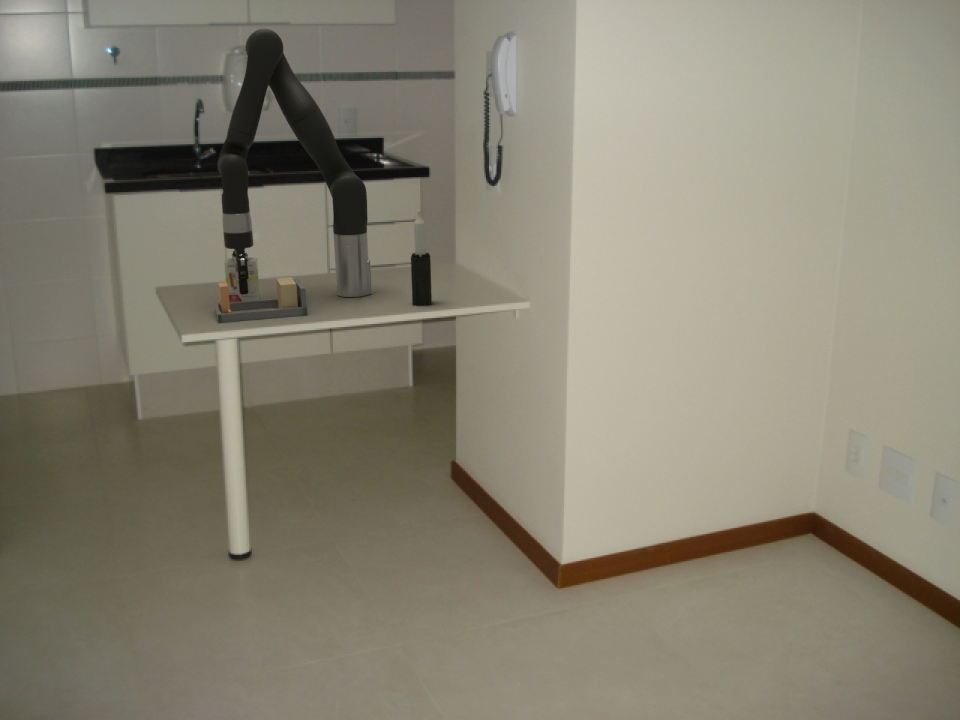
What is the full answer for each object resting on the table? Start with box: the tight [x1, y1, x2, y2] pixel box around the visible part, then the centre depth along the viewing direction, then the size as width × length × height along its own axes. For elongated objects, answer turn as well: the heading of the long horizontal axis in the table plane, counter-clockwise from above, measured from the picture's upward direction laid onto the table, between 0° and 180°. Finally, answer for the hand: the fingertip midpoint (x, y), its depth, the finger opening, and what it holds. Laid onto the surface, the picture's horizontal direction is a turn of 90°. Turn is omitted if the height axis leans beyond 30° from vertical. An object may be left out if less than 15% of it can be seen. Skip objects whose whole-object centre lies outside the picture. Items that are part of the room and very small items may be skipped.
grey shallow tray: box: [213, 278, 308, 324], centre depth 260 cm, size 22×13×7 cm, turn 108°
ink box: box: [224, 256, 261, 303], centre depth 271 cm, size 9×5×12 cm, turn 100°
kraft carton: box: [275, 276, 298, 309], centre depth 262 cm, size 4×9×8 cm, turn 18°
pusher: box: [218, 281, 232, 314], centre depth 257 cm, size 2×10×8 cm, turn 18°
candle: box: [410, 209, 433, 306], centre depth 265 cm, size 5×5×25 cm
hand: (243, 291), depth 272 cm, fingers closed on ink box, 5 cm apart
